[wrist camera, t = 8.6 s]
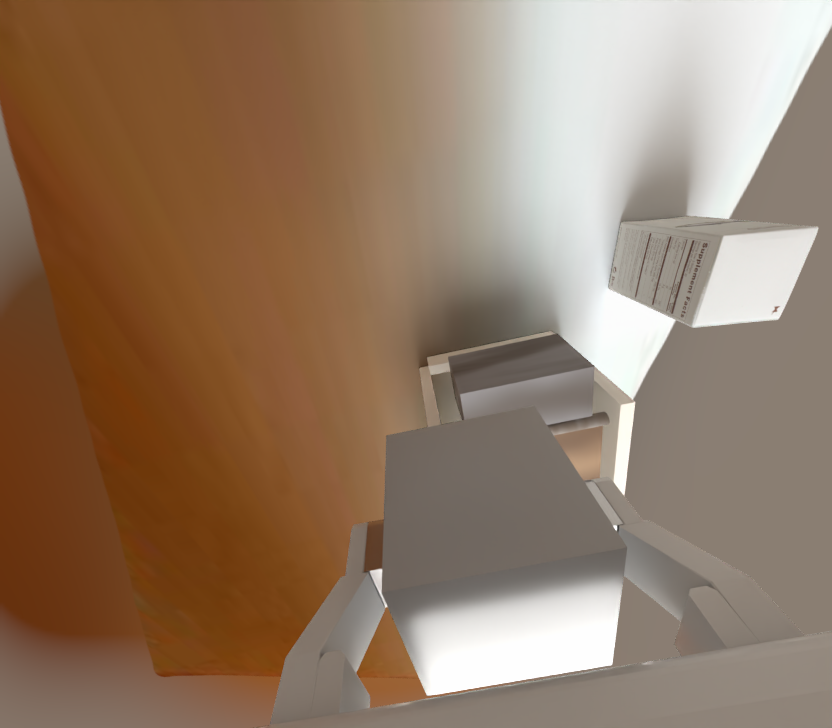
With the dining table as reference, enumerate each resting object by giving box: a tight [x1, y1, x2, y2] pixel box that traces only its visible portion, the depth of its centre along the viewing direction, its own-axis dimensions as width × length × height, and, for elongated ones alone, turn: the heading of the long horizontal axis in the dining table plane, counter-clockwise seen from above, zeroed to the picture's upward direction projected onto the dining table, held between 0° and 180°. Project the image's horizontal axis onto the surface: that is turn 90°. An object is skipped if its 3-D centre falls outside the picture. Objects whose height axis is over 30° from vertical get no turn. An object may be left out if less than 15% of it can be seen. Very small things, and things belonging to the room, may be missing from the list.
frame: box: [419, 331, 635, 495], centre depth 39 cm, size 20×18×14 cm
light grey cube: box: [381, 406, 627, 696], centre depth 10 cm, size 5×5×5 cm
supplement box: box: [609, 216, 818, 327], centre depth 31 cm, size 7×7×13 cm
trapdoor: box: [448, 334, 610, 481], centre depth 35 cm, size 20×14×7 cm
